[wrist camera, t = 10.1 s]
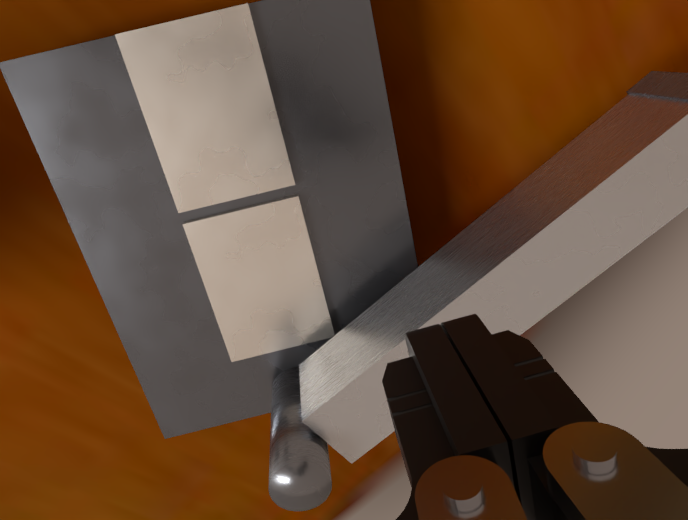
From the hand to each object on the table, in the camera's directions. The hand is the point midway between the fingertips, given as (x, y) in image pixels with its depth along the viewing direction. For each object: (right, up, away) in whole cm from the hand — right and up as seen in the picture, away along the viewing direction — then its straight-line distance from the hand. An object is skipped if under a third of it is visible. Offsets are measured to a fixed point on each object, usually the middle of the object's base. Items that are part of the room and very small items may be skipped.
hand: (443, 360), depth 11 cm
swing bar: (+4, +2, +12) cm, 13 cm away
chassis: (-6, +4, +15) cm, 17 cm away
